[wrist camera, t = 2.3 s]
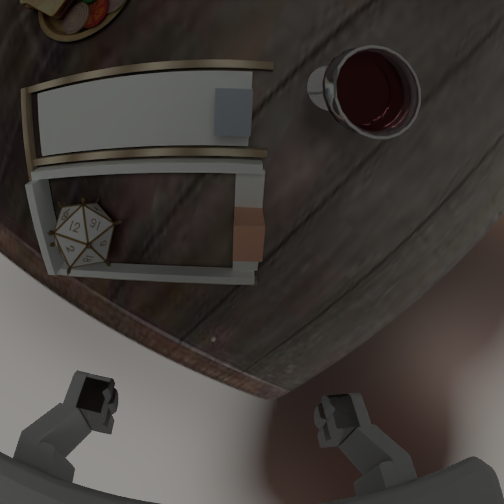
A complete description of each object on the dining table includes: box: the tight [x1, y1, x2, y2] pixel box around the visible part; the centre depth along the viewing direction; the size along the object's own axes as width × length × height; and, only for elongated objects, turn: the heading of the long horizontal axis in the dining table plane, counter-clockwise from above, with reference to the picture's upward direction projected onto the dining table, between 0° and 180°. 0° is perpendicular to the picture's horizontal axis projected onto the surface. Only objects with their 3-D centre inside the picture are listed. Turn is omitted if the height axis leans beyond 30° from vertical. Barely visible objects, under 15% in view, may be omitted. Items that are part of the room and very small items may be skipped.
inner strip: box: [38, 71, 253, 156], centre depth 24 cm, size 24×8×6 cm, turn 87°
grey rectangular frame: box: [25, 158, 265, 285], centre depth 31 cm, size 27×14×5 cm, turn 87°
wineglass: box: [307, 45, 421, 139], centre depth 21 cm, size 7×7×12 cm
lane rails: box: [21, 60, 274, 285], centre depth 30 cm, size 29×26×1 cm
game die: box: [47, 196, 122, 276], centre depth 30 cm, size 9×8×10 cm
